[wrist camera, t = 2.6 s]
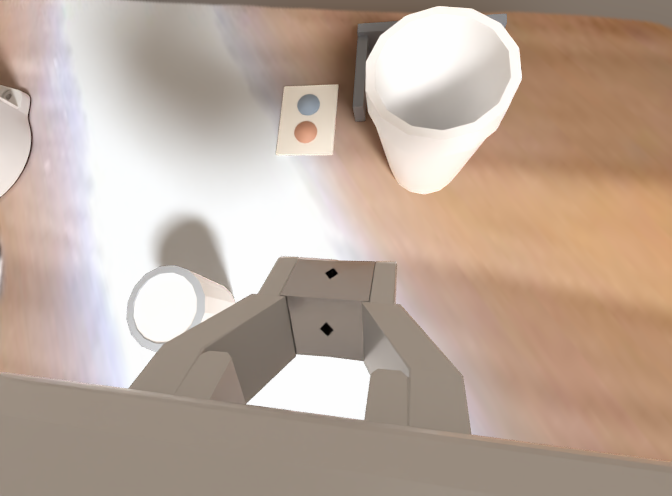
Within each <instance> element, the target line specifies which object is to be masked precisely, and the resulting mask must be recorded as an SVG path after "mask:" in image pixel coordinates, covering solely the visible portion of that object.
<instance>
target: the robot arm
mask: <svg viewBox="0 0 672 496" xmlns="http://www.w3.org/2000/svg"><path fill="white" fill-rule="evenodd" d="M29 106H30V97H29V95H28V94H26V93H24V92H22V91H20V90H17V89H14V88H10V87H7V86H3V85H0V197H1V196H2V195H3V194H4V193H5V192H6V191H7V190H8V189H9V188H10V187H11V186H12V185H13V184H14V182H15V181H16V180H17V178H18V177H19V175H20V174H21V172H22V170H23V168H24V166H25V164H26V161H27V159H28V155H29V152H30V146H31V131H30V127H29V122H28V112H29ZM396 280H397V263H396V262H394V261H376V262H375V261H341V260H332V259H318V258H304V257H300V258H299V257H285V256H282V257H280V258H278V260H277V261H276V263H275V265H274V267H273V268H272V270H271V272H270V274H269V275H268V277H267V279H266V280H265V282H264V284H263V286H262V287H261V289H260V291H259V293H258V294H251V295H249V296H247V297H246V298H244V299H242V300H240V301H239V302H237V303H235V304H233V305H232V306H230V307H228V308H226V309H224V310H223V311H221V312H219V313H217V314H216V315H214V316H212V317H210V318H209V319H207V320H205V321H203V322H201V323H200V324H198V325H196V326H194V327H193V328H191V329H189V330H187V331H185V332H184V333H182V334H180V335H178V336H177V337H175V338H173V339H171V340H170V341H168V342H166V343H164V344H163V345H162V346H161V348H160V349H159V350H158V351H157V353H156V354H155V355H154V357H153V358H152V359H151V360H150V362H149V363H148V364H147V366H146V367H145V368H144V369H143V371H142V372H141V373H140V374H139V376H138V377H137V378H136V380H135V381H134V382H133V383H132V385H131V386H130V387H129V388H128V389H127V388H119V387H112V386H104V385H97V384H89V383H82V382H74V381H67V380H59V379H52V378H44V377H37V376H29V375H22V374H14V373H7V372H0V496H672V461H665V460H657V459H650V458H642V457H635V456H627V455H620V454H612V453H605V452H597V451H590V450H582V449H575V448H567V447H560V446H552V445H545V444H538V443H530V442H523V441H515V440H508V439H500V438H493V437H485V436H478V435H471V428H470V421H469V414H468V407H467V400H466V393H465V386H464V379H463V375H462V374H461V373H460V372H459V371H458V370H457V369H456V367H455V366H454V365H453V364H452V363H451V362H450V361H449V359H448V358H447V357H446V356H445V355H444V354H443V352H442V351H441V350H440V349H439V348H438V347H437V346H436V344H435V343H434V342H433V341H432V340H431V339H430V338H429V336H428V335H427V334H426V333H425V332H424V331H423V330H422V328H421V327H420V326H419V325H418V324H417V323H416V322H415V320H414V319H413V318H412V317H411V316H410V315H409V314H408V312H407V311H406V310H405V309H404V308H403V307H402V306H401V305H400V304H396ZM296 354H300V355H314V356H328V357H336V358H344V359H352V360H359V361H364V364H365V366H366V368H367V370H368V372H369V374H370V376H371V377H370V384H369V391H368V398H367V405H366V412H365V420H358V419H351V418H343V417H336V416H329V415H321V414H314V413H306V412H299V411H291V410H284V409H276V408H269V407H261V406H254V405H246V403H247V402H248V401H249V400H250V399H251V398H253V397H254V396H255V395H256V394H257V393H258V392H259V391H260V390H261V389H262V388H263V387H264V386H265V385H266V384H267V383H268V382H269V381H270V380H271V379H272V378H274V377H275V376H276V375H277V374H278V373H279V372H280V371H281V370H282V369H283V368H284V367H285V366H286V365H287V364H288V363H289V362H290V361H291V360H292V359H293V358H295V357H296Z"/></svg>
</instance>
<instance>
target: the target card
mask: <svg viewBox="0 0 672 496" xmlns="http://www.w3.org/2000/svg"><path fill="white" fill-rule="evenodd" d="M338 89H339V85H338V84H334V85H310V86H285V87H284V92H283V100H282V108H281V117H280V125H279V133H278V141H277V150H276V155H333V148H334V136H335V124H336V112H337V101H338Z"/></svg>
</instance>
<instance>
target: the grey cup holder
mask: <svg viewBox="0 0 672 496" xmlns="http://www.w3.org/2000/svg"><path fill="white" fill-rule="evenodd" d="M485 16H487V17H489V18H491V19H493V20H495V21H497V22H499V23H501V24H502V26H503V27H504V28H505V26H506V24H507V14H494V15H485ZM397 22H398V21H393V22H379V23H364V24H358V31H357V33H358V42H357V55H356V69H355V82H354V96H353V111H354V116H355V121H365V115H366V91H365V89H366V61H367V59H368V57H369V54H370V53H371V52H372V50H373V48H374V46H375V44H376V42H377V40H378V39H379V37H380V35H382V34H383V33H384V32H385V31H387V30H388V29H389V28H391V27H392V26H393V25H394V24H396V23H397Z"/></svg>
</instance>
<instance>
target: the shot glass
mask: <svg viewBox="0 0 672 496" xmlns="http://www.w3.org/2000/svg"><path fill="white" fill-rule="evenodd" d="M233 304H235V300H234V298H233V295H232V293H231V292H230V291H229V290H228V289H227V288H226V287H225V286H223V285H221V284H218V283H216V282H214V281H212V280H210V279H207V278H205V277H203V276H201V275H199V274H196V273H194V272H192V271H190V270H187V269H185V268H182V267H179V266H176V265H171V266H160V267H158V268H156V269H154V270H152V271H150V272H149V273H147V274H145V275H144V276H143V278H142V279H141V280H140V281H139V282H138V283H137V284H136V285H135V286H134V289H133V291H132V293H131V296H130V298H129V300H128V306H127V322H128V325H129V329H130V332H131V335H132V336H133V337H134V338H135V339H136V341H137V342H138V343H139V344H140V345H141V346H142V347H145V348H147V349H149V350H152V351H154V352H157V351H158V350H159V349H160V348H161V346H162V345H163V344H164V343H166V342H168V341H170V340H171V339H173V338H175V337H177V336H178V335H180V334H182V333H184V332H185V331H187V330H189V329H191V328H193V327H194V326H196V325H198V324H200V323H201V322H203V321H205V320H207V319H209V318H210V317H212V316H214V315H216V314H217V313H219V312H221V311H223V310H224V309H226V308H228V307H230V306H232V305H233Z"/></svg>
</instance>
